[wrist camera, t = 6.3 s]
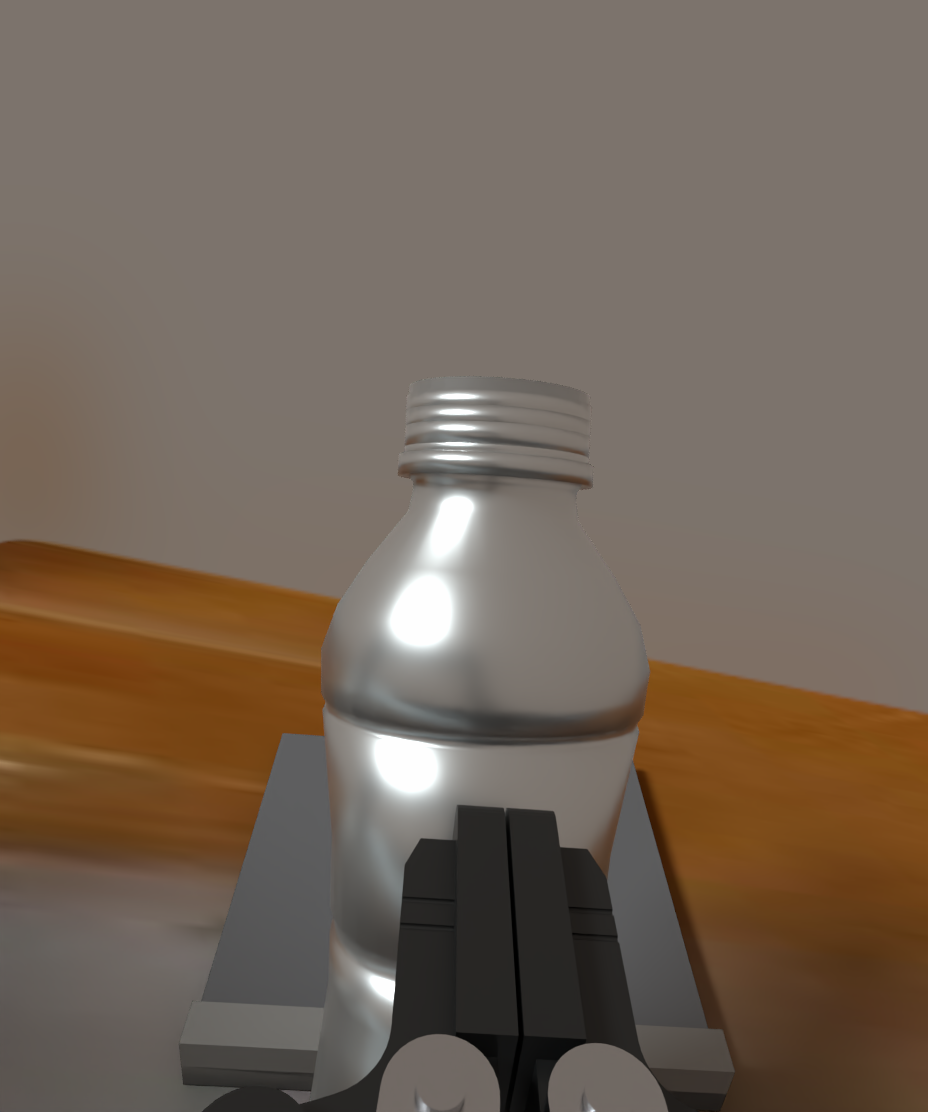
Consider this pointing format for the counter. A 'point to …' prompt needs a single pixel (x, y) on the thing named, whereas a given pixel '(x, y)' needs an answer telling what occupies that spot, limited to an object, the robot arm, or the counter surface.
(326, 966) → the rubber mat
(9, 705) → the counter surface
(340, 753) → the silver aluminum bottle
